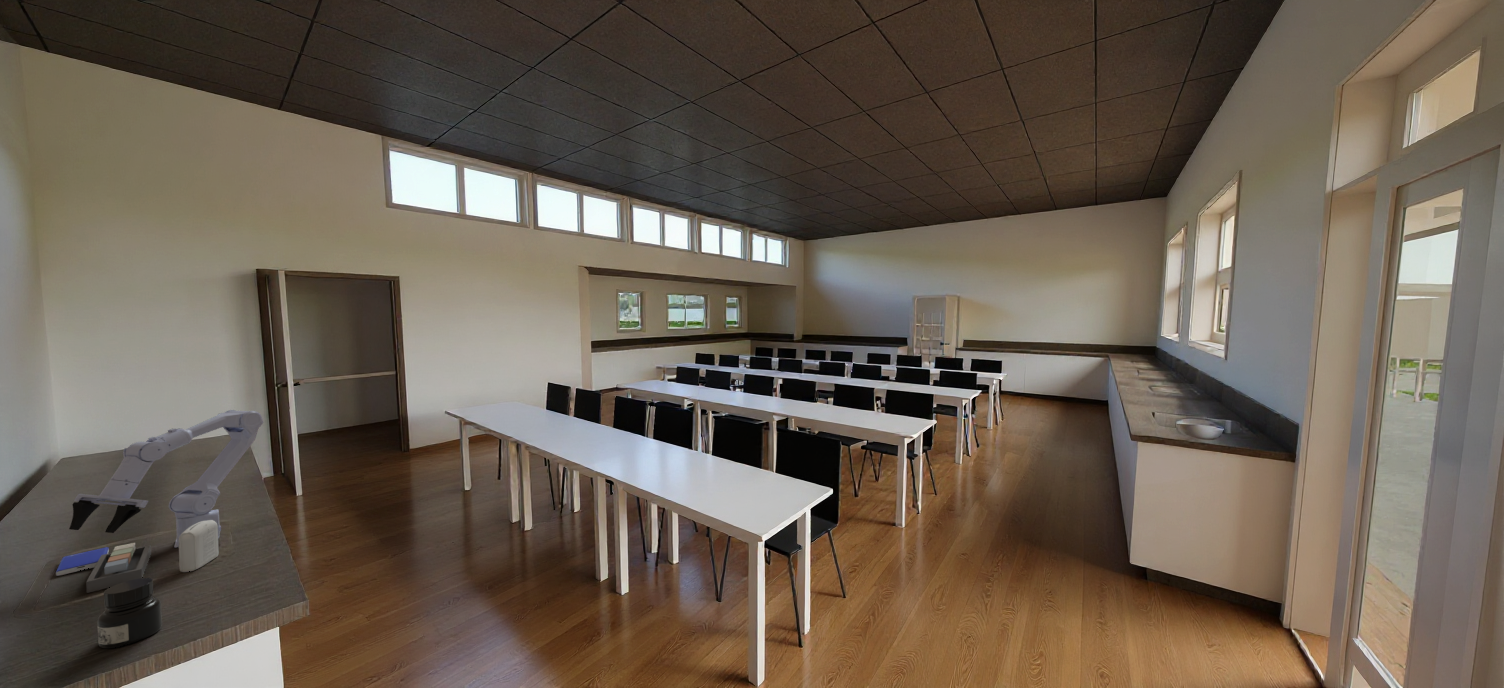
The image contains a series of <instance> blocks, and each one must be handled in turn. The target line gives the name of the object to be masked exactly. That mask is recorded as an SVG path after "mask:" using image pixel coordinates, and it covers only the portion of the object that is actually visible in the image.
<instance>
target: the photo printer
mask: <svg viewBox="0 0 1504 688" xmlns="http://www.w3.org/2000/svg"><path fill="white" fill-rule="evenodd" d="M219 554H220V553H219V538H218V525H217V523H216V522H215V521H213V520H207V521H201V522H198V523H196V524H194V525H192V526H190V527H189V528H188V529H186V530H185V531H184V532H183V533H182V534H181V535H180V537H179V547H178V558H179V559H178V560H179V571H180V572H182V573H189V571H190V572H194V571H195V570H198V569H200V568H202V567H204V566H205V565H206V564H208V563H210V562H211V561H212V560H214V559H216V558H217V557H219Z"/></svg>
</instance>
